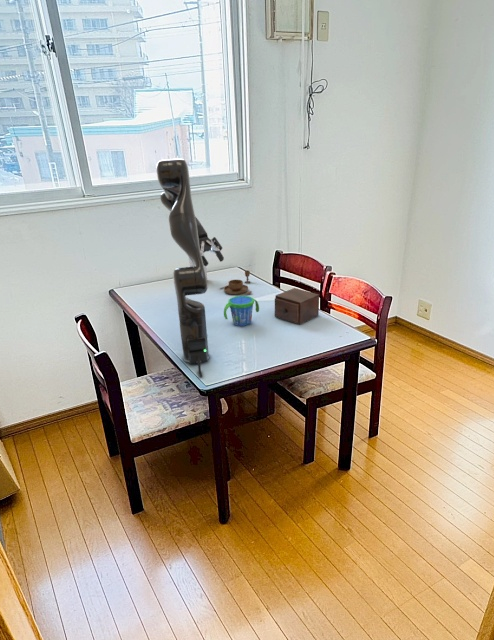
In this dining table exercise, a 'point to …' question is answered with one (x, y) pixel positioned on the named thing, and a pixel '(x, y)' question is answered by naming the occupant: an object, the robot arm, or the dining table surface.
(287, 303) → the drawer
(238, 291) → the place setting
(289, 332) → the dining table surface
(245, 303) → the snack cup
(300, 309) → the cabinet
